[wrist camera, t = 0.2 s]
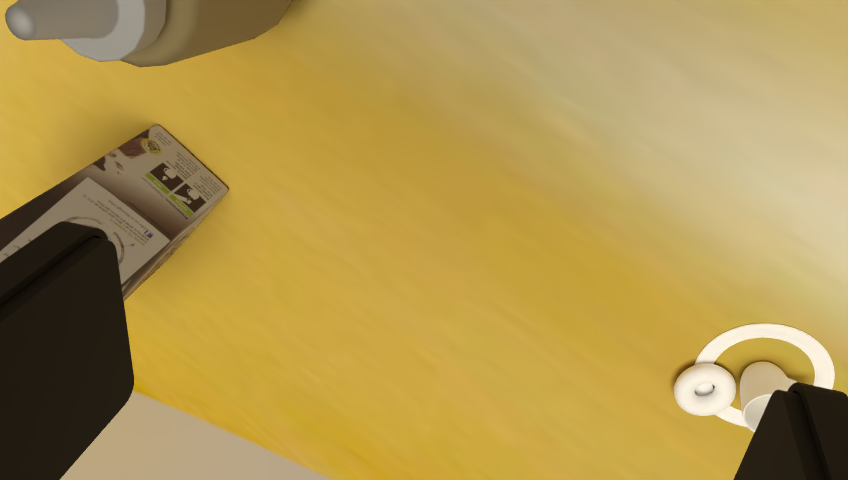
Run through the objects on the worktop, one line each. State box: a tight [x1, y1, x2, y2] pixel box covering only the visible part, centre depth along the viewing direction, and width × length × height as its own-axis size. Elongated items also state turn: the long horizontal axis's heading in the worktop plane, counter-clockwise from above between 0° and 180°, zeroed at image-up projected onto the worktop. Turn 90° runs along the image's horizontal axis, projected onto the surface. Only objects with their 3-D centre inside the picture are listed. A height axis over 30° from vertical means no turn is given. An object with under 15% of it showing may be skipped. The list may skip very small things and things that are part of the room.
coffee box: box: [0, 125, 228, 301], centre depth 42 cm, size 9×6×16 cm
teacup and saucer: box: [674, 323, 835, 432], centre depth 44 cm, size 9×8×4 cm
